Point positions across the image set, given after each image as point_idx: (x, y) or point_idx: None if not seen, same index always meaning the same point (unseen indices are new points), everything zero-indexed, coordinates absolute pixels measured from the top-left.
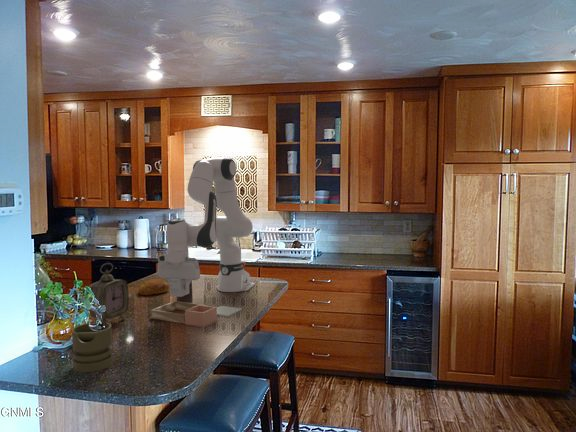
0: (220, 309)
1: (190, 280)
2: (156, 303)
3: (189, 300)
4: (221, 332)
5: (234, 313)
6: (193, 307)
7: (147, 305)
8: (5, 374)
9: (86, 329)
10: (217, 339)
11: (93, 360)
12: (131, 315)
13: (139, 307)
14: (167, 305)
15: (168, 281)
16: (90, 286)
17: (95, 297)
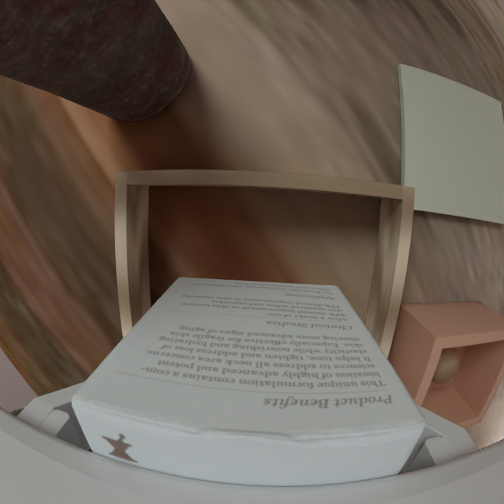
0: (439, 131)
1: (462, 449)
2: (19, 148)
3: (180, 74)
4: (500, 384)
5: (502, 167)
6: (423, 393)
7: (7, 194)
8: None
9: None
10: (491, 422)
11: None
12: (53, 347)
13: (3, 235)
14: (130, 267)
15: (82, 443)
16: None
17: None
